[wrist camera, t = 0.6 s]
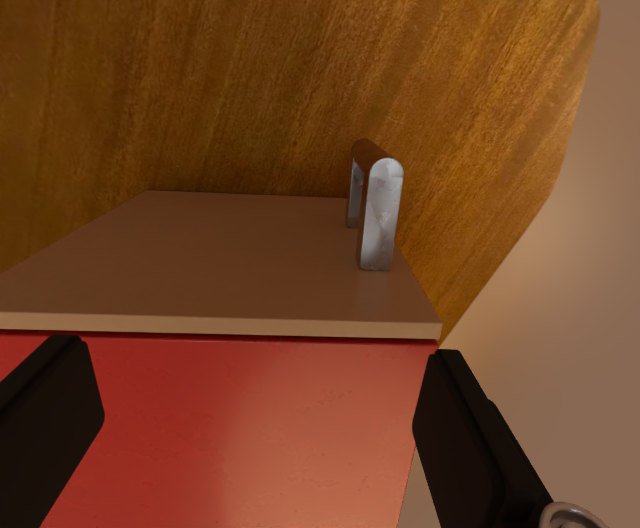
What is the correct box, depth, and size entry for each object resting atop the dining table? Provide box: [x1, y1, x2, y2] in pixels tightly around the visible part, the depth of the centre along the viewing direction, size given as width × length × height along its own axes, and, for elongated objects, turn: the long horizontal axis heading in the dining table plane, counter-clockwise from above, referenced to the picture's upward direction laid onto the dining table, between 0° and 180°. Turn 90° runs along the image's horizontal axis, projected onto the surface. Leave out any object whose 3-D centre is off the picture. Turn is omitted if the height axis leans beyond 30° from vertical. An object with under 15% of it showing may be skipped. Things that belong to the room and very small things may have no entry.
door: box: [0, 138, 443, 339], centre depth 27 cm, size 8×24×24 cm, turn 87°
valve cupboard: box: [0, 329, 439, 528], centre depth 32 cm, size 18×24×24 cm
